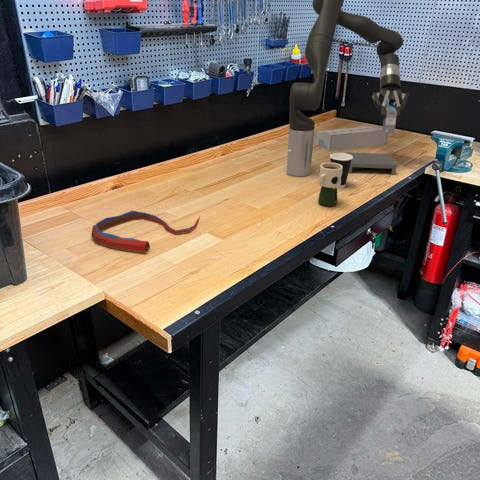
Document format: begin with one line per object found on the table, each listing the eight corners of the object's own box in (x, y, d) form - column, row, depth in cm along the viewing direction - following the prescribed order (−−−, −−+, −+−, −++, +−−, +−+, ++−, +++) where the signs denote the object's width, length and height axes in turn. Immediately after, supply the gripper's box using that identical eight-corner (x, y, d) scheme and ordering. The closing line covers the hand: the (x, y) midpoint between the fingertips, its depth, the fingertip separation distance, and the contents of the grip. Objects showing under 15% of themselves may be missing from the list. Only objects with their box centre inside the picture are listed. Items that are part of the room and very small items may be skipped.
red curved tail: (165, 205, 150) (164, 191, 148) (214, 222, 137) (213, 207, 135) (81, 240, 130) (78, 224, 127) (129, 264, 116) (126, 246, 114)
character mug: (327, 211, 145) (331, 172, 139) (308, 205, 149) (312, 167, 143) (345, 202, 152) (350, 164, 146) (327, 196, 156) (331, 159, 150)
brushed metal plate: (347, 173, 177) (348, 163, 175) (343, 161, 189) (344, 152, 187) (395, 174, 175) (396, 164, 173) (388, 163, 188) (389, 153, 186)
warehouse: (367, 137, 223) (369, 122, 220) (385, 145, 211) (388, 129, 208) (313, 143, 214) (315, 127, 210) (329, 152, 202) (331, 135, 198)
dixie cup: (323, 182, 167) (326, 153, 162) (343, 180, 169) (346, 152, 164) (332, 190, 161) (335, 160, 155) (353, 188, 162) (356, 158, 157)
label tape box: (394, 134, 174) (399, 100, 168) (383, 133, 174) (388, 100, 169) (392, 128, 181) (397, 96, 176) (381, 128, 182) (386, 96, 176)
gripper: (406, 85, 181) (407, 123, 176) (369, 85, 183) (369, 122, 178) (411, 73, 174) (412, 111, 169) (373, 72, 176) (373, 110, 171)
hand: (390, 116), depth 173 cm, fingers closed on label tape box, 4 cm apart
